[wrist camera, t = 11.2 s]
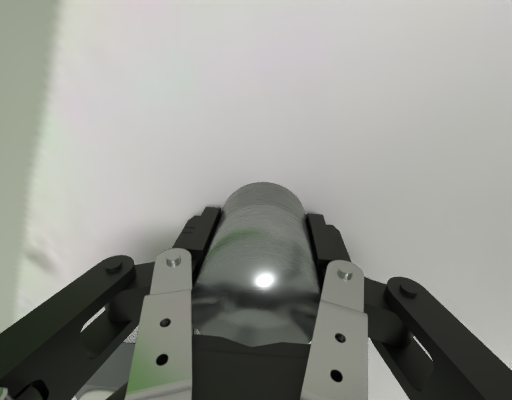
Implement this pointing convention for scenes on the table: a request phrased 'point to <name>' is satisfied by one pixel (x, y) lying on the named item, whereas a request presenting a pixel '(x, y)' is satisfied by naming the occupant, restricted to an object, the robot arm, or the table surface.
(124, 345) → the scale
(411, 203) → the table surface
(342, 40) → the table surface
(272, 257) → the cylinder
